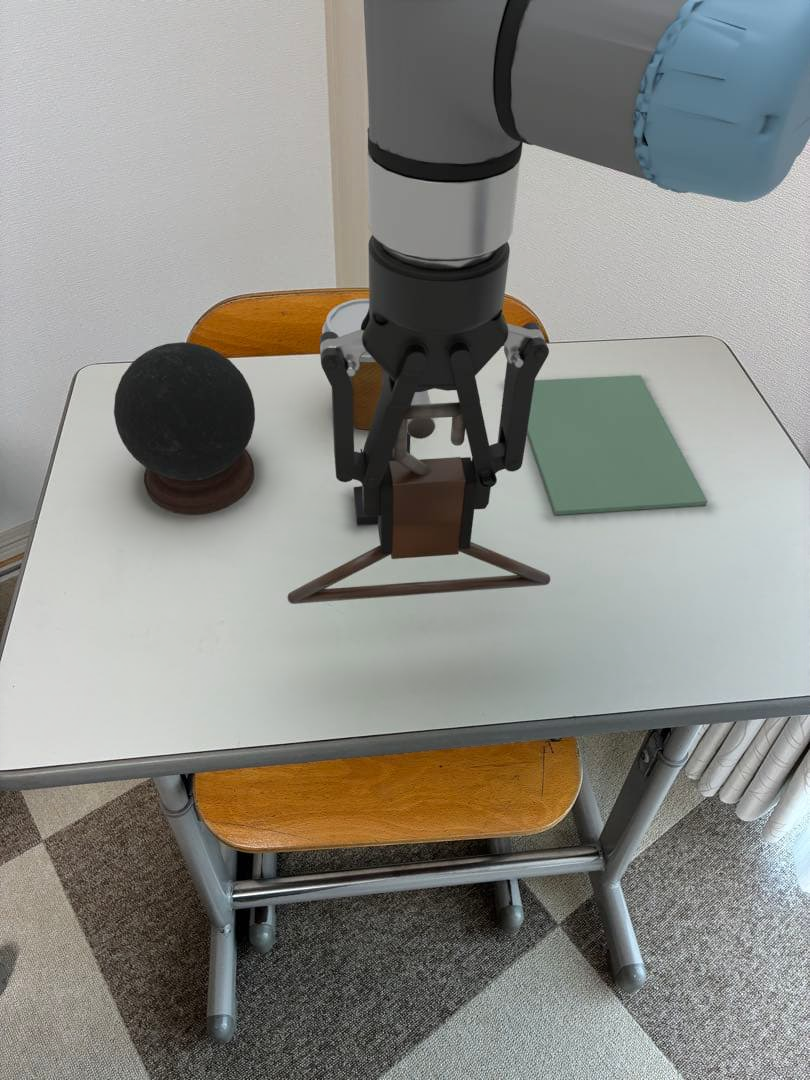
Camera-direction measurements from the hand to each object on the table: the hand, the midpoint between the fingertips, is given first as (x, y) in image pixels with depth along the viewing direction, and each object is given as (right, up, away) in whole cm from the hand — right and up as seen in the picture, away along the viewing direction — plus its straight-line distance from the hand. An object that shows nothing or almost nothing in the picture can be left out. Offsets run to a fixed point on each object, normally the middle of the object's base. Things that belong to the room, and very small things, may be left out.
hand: (423, 537), depth 59 cm
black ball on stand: (-23, +6, +25) cm, 34 cm away
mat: (+21, +11, +30) cm, 38 cm away
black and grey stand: (-2, -1, +18) cm, 18 cm away
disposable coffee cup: (-5, +14, +33) cm, 36 cm away
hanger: (0, -4, +5) cm, 6 cm away
